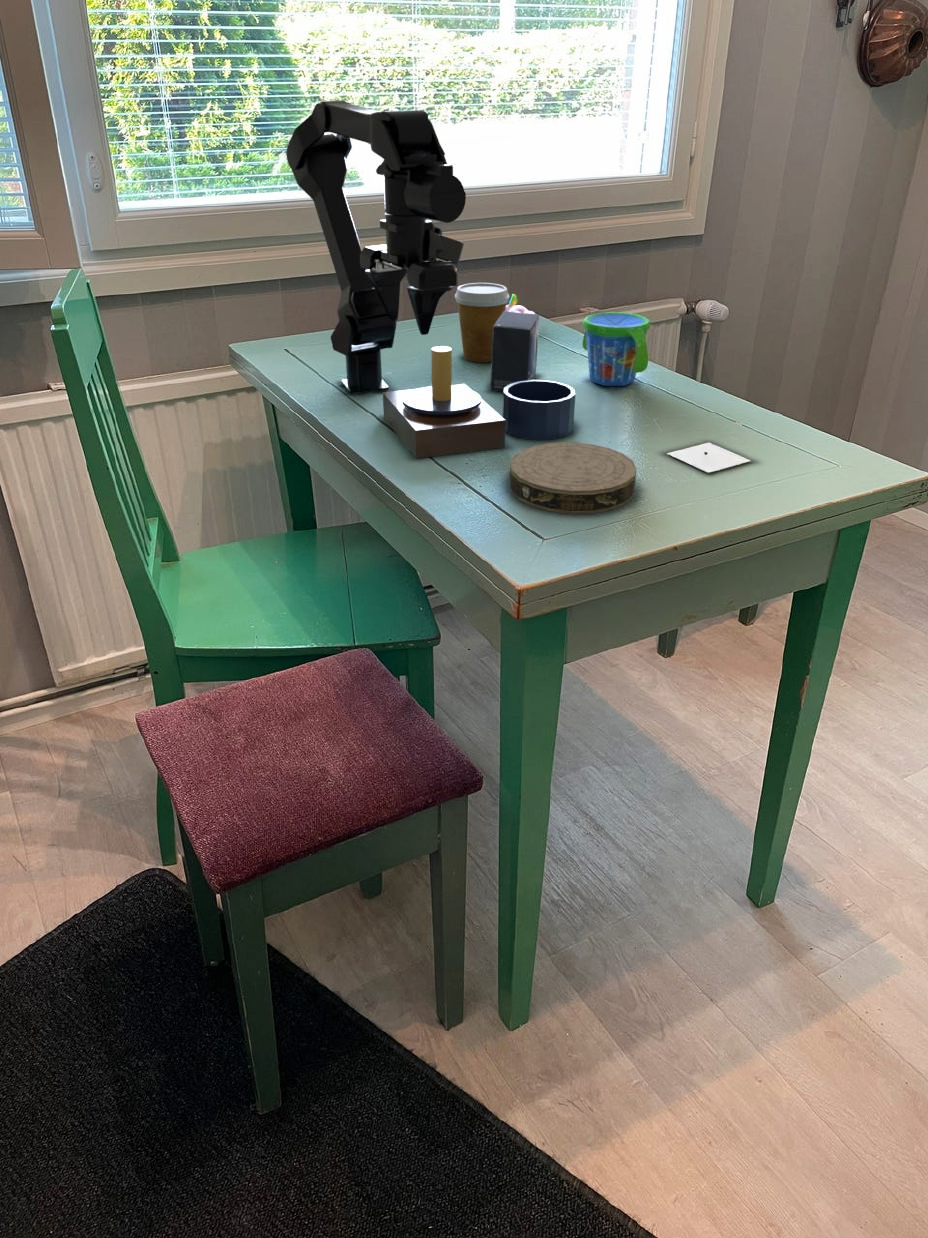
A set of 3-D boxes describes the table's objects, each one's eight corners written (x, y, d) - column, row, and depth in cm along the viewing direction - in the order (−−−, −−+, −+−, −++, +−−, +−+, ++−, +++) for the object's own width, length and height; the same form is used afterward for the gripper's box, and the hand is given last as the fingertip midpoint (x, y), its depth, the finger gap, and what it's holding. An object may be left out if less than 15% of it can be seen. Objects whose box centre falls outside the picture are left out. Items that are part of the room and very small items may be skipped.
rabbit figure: (489, 323, 194) (514, 329, 180) (489, 293, 191) (513, 297, 178) (518, 321, 195) (544, 327, 182) (517, 291, 193) (544, 295, 180)
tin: (492, 419, 141) (493, 383, 138) (555, 412, 144) (557, 377, 141) (518, 443, 132) (519, 405, 130) (584, 435, 135) (587, 398, 133)
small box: (529, 394, 151) (531, 328, 145) (489, 391, 152) (490, 326, 146) (537, 375, 160) (540, 312, 154) (500, 372, 161) (501, 310, 155)
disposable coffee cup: (517, 354, 170) (519, 286, 164) (490, 367, 163) (491, 296, 157) (472, 346, 174) (473, 279, 168) (444, 359, 167) (444, 289, 161)
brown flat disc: (653, 507, 114) (656, 485, 113) (527, 519, 111) (528, 495, 110) (609, 459, 128) (611, 438, 126) (495, 468, 125) (496, 446, 123)
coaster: (751, 460, 127) (752, 455, 127) (708, 472, 123) (709, 467, 123) (708, 442, 133) (709, 437, 132) (666, 453, 129) (667, 448, 129)
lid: (407, 391, 139) (406, 336, 135) (483, 394, 138) (484, 338, 134) (397, 417, 130) (395, 359, 125) (479, 420, 129) (479, 361, 125)
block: (383, 418, 141) (382, 392, 139) (465, 409, 145) (465, 383, 143) (416, 458, 127) (415, 430, 125) (505, 447, 131) (505, 419, 129)
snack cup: (563, 370, 162) (566, 310, 156) (617, 365, 165) (622, 305, 160) (604, 398, 149) (610, 334, 144) (662, 391, 152) (670, 328, 147)
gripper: (491, 217, 127) (489, 334, 135) (422, 200, 140) (424, 307, 148) (420, 224, 122) (422, 345, 130) (355, 205, 135) (361, 316, 143)
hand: (408, 327), depth 138 cm, fingers open, 9 cm apart
